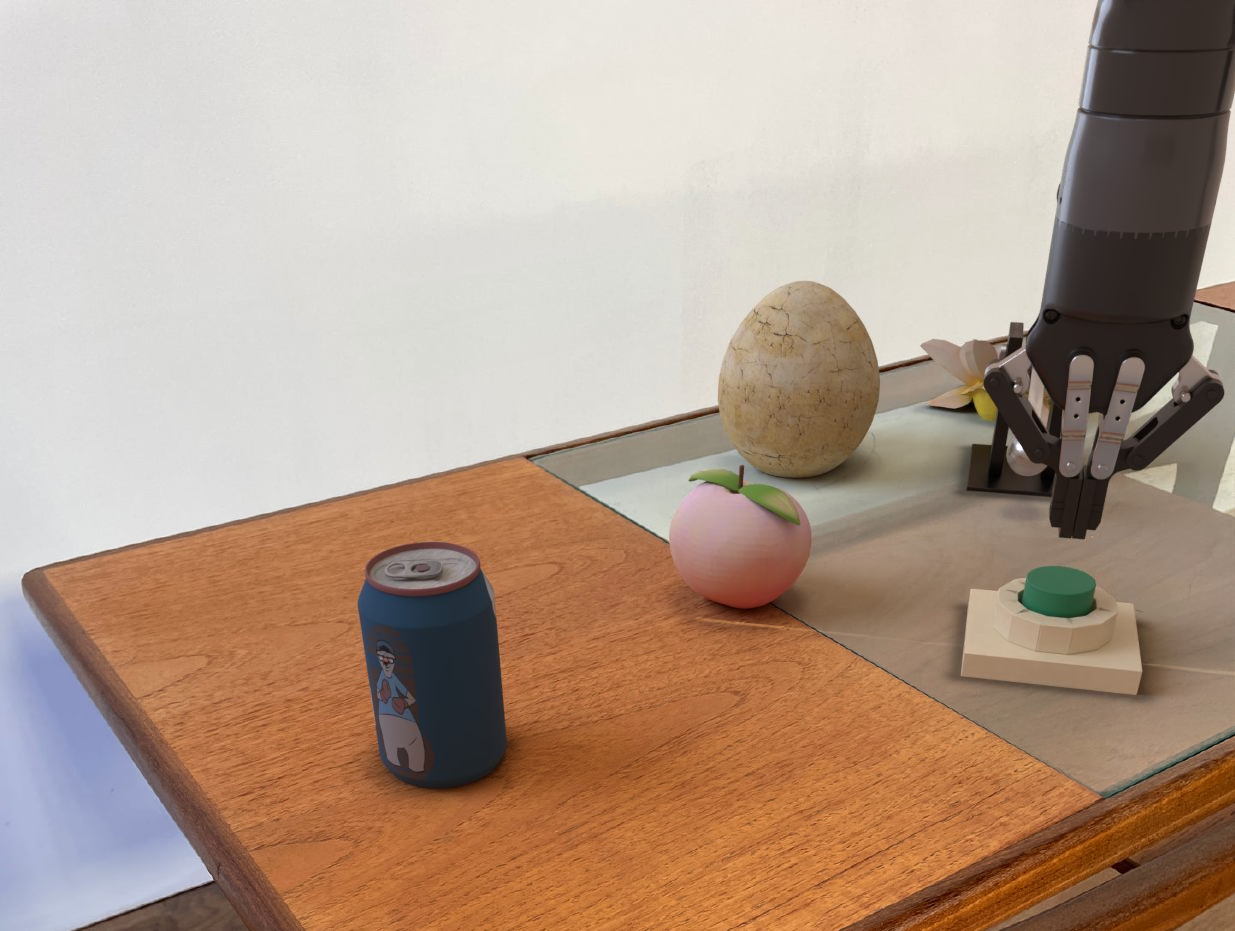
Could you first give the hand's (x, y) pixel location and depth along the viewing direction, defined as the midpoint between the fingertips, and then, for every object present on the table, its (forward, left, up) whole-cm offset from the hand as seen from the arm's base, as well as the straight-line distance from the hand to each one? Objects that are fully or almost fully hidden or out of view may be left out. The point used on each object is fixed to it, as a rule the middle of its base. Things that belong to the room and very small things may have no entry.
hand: (1071, 533), depth 75 cm
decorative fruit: (+20, -2, -8) cm, 22 cm away
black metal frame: (+2, -30, -8) cm, 31 cm away
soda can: (+32, +20, -8) cm, 39 cm away
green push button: (0, 0, -5) cm, 5 cm away
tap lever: (+2, -26, -2) cm, 26 cm away
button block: (0, 0, -8) cm, 8 cm away
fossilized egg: (+20, -28, -8) cm, 35 cm away
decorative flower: (+3, -45, -8) cm, 46 cm away
